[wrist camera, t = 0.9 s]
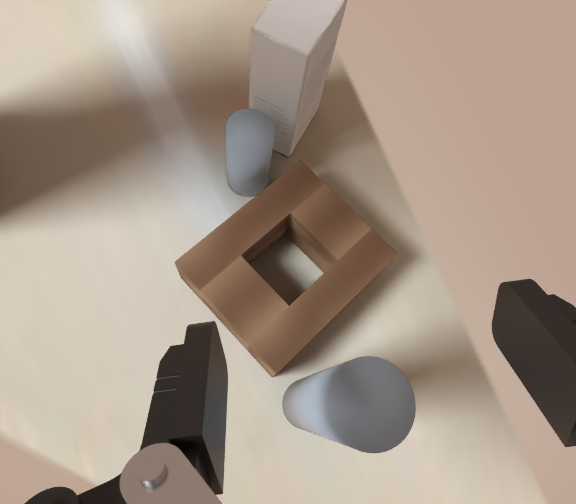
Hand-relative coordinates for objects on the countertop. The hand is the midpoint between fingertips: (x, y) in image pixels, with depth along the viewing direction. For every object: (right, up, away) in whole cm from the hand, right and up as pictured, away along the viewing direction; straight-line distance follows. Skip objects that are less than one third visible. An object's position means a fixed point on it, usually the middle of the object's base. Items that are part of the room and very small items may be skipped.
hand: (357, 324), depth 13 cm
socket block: (-2, 0, +22) cm, 22 cm away
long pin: (-1, -9, +19) cm, 21 cm away
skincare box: (-2, +13, +27) cm, 30 cm away
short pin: (-5, +8, +24) cm, 26 cm away
